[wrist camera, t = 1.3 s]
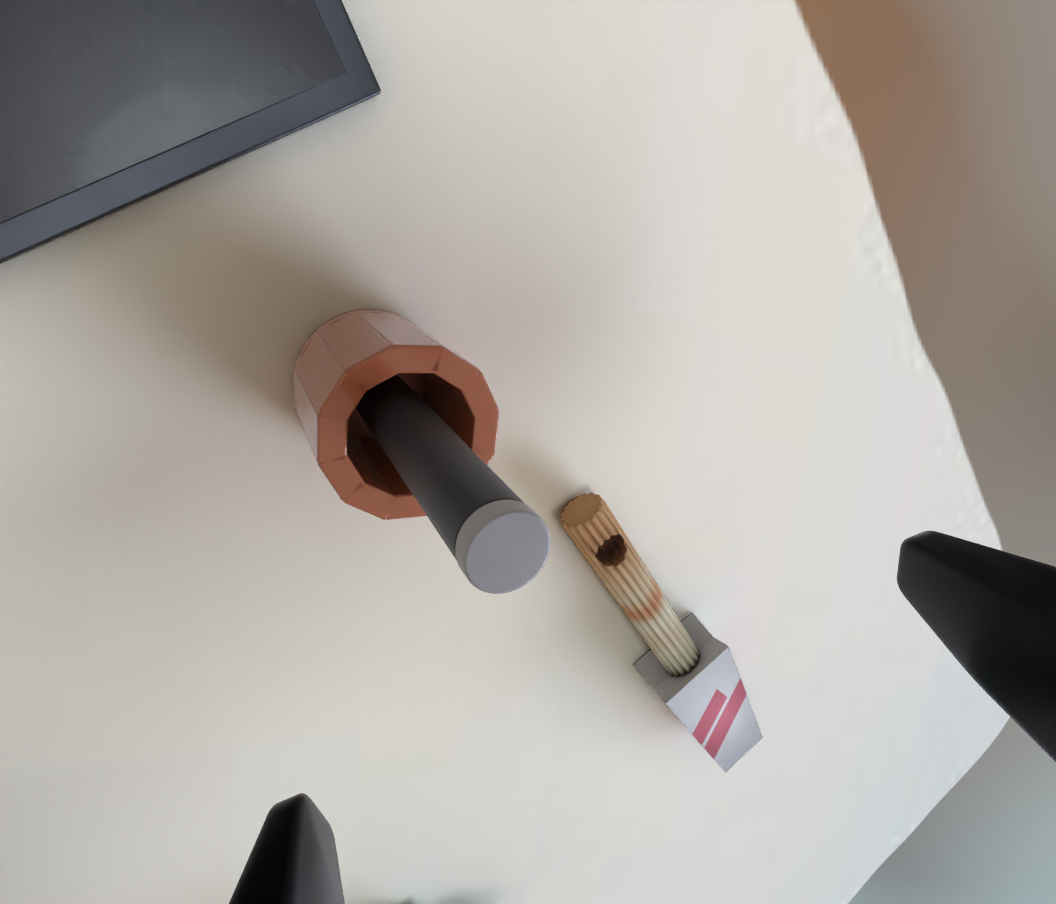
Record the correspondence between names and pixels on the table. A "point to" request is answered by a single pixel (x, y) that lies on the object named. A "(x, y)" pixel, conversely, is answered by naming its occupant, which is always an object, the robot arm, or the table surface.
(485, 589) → the stylus
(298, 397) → the pen cup
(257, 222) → the table surface
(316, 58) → the tablet
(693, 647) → the paintbrush
